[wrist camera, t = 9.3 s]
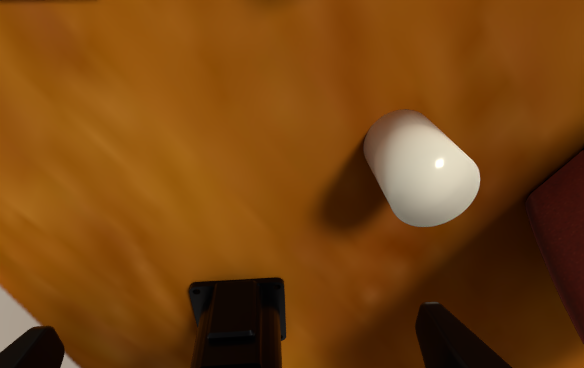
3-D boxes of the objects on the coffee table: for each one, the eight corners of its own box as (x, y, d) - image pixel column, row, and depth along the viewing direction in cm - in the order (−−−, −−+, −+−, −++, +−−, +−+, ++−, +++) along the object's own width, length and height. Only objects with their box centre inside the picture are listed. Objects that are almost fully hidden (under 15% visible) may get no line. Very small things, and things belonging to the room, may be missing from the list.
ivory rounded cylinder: (426, 172, 21) (467, 224, 17) (360, 175, 21) (384, 229, 17) (440, 108, 19) (491, 148, 15) (367, 110, 19) (396, 152, 15)
